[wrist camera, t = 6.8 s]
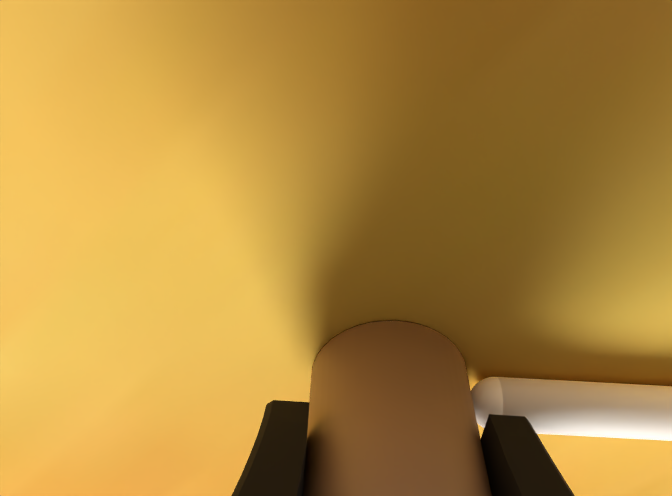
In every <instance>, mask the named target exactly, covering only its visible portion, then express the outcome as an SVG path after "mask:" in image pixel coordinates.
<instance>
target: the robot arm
mask: <svg viewBox="0 0 672 496" xmlns="http://www.w3.org/2000/svg"><path fill="white" fill-rule="evenodd" d="M308 418H309V403H308V402H293V401H277V400H273V401H271V402H270V403H268V404H267V405H266V409H265V413H264V417H263V420H262V423H261V426H260V429H259V432H258V435H257V438H256V441H255V443H254V446H253V449H252V451H251V454H250V456H249V458H248V461H247V463H246V465H245V468H244V470H243V473H242V475H241V477H240V479H239V481H238V483H237V486H236V488H235V490H234V492H233V494H232V496H303V489H304V475H305V461H306V447H307V433H308ZM481 445H482V450H483V455H484V460H485V465H486V469H487V474H488V479H489V484H490V489H491V494H492V496H574V494H573V493H572V491H571V489H570V488H569V486H568V485H567V483H566V481H565V480H564V478H563V477H562V475H561V473H560V472H559V470H558V469H557V467H556V465H555V464H554V462H553V460H552V459H551V457H550V456H549V454H548V452H547V451H546V449H545V447H544V446H543V444H542V442H541V440H540V439H539V437H538V435H537V434H536V432H535V430H534V429H533V427H532V425H531V423H530V422H529V421H528V419H527V418H526V417H525V416H511V415H495V414H489V416H488V419H487V422H486V425H485V428H484V431H483V434H482V437H481Z"/></svg>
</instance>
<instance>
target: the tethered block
mask: <svg viewBox="0 0 672 496" xmlns="http://www.w3.org/2000/svg"><path fill="white" fill-rule="evenodd" d="M489 414H495V415H511V416H525V417H526V418H527V419H528V421H529V422H530V423H531V425H532V427H533V429H534V430H535V432H536V434H555V435H574V436H593V437H612V438H631V439H649V440H668V441H672V386H657V385H639V384H620V383H602V382H583V381H565V380H546V379H528V378H509V377H489V378H485V379H483V380H481V381H479V382H478V383H477V384H476V385H475V386H474V387H473V388H472V390H470V385H469V380H468V376H467V371H466V366H465V361H464V359H463V357H462V354H461V353H460V351H459V350H458V348H457V347H456V346H455V345H454V344H453V343H452V342H451V341H450V340H449V339H448V338H446V337H445V336H444V335H442V334H440V333H439V332H437V331H435V330H433V329H431V328H429V327H426V326H423V325H420V324H416V323H411V322H404V321H377V322H371V323H366V324H362V325H359V326H355V327H353V328H351V329H348V330H346V331H344V332H342V333H340V334H339V335H337V336H336V337H334V338H333V339H331V340H330V341H329V342H328V343H327V344H326V345H325V346H324V347H323V348H322V349H321V351H320V352H319V353H318V355H317V357H316V359H315V361H314V364H313V367H312V375H311V388H310V402H309V418H308V433H307V447H306V461H305V475H304V489H303V496H492V494H491V489H490V484H489V479H488V474H487V469H486V465H485V460H484V455H483V450H482V445H481V440H480V435H479V430H478V425H477V423H478V424H479V425H480V426H482V427H483V428H485V425H486V422H487V419H488V416H489Z"/></svg>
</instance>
